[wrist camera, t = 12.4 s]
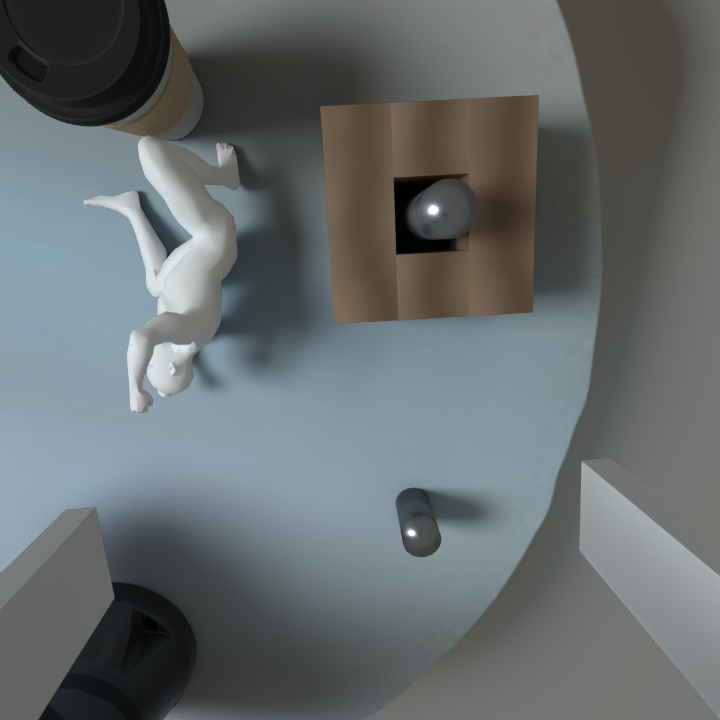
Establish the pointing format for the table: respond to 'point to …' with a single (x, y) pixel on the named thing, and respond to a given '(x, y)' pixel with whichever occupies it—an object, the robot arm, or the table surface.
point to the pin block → (421, 170)
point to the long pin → (439, 211)
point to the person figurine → (179, 264)
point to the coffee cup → (100, 64)
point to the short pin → (417, 523)
